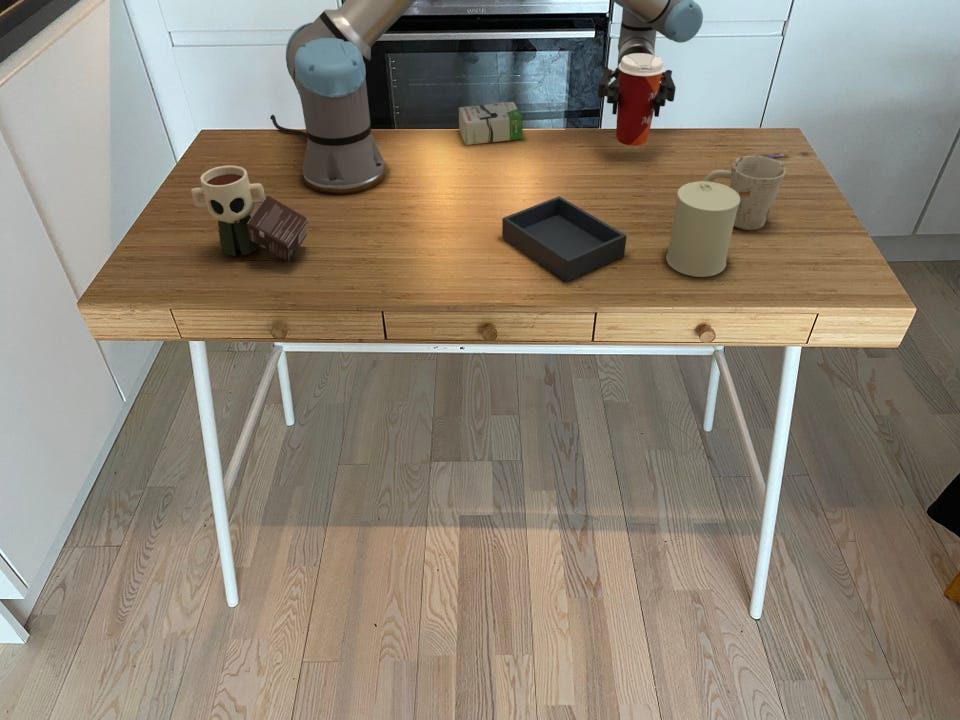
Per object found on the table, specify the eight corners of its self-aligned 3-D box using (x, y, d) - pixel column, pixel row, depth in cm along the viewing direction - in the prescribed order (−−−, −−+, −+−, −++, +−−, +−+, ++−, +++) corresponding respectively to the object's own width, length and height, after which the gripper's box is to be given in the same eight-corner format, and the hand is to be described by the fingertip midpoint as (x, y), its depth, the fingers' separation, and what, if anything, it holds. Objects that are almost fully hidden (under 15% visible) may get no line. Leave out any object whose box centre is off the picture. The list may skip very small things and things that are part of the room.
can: (719, 245, 125) (733, 178, 118) (731, 277, 118) (748, 207, 111) (662, 245, 126) (672, 177, 118) (671, 277, 119) (683, 207, 111)
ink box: (523, 116, 154) (464, 123, 152) (523, 140, 157) (465, 146, 155) (513, 100, 160) (457, 106, 159) (513, 123, 163) (458, 129, 162)
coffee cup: (656, 148, 145) (669, 68, 135) (612, 148, 145) (622, 67, 135) (649, 129, 151) (661, 51, 141) (607, 129, 151) (616, 51, 142)
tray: (502, 238, 128) (502, 218, 126) (558, 215, 133) (559, 195, 131) (566, 282, 118) (568, 261, 115) (624, 256, 123) (626, 235, 121)
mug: (769, 237, 127) (784, 182, 121) (692, 225, 130) (702, 170, 124) (773, 213, 133) (787, 159, 127) (699, 202, 136) (709, 149, 130)
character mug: (204, 263, 123) (183, 189, 115) (210, 239, 128) (190, 167, 120) (274, 257, 124) (258, 183, 116) (276, 234, 129) (261, 162, 121)
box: (289, 263, 124) (248, 240, 123) (308, 234, 126) (268, 211, 125) (288, 247, 118) (246, 223, 117) (309, 217, 120) (267, 194, 119)
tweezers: (802, 151, 151) (801, 155, 151) (746, 155, 149) (745, 159, 149) (807, 152, 149) (807, 156, 150) (751, 156, 147) (750, 160, 148)
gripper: (683, 84, 158) (688, 131, 140) (585, 80, 160) (579, 125, 143) (689, 47, 153) (695, 90, 135) (588, 43, 155) (582, 84, 138)
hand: (636, 108), depth 139 cm, fingers closed on coffee cup, 7 cm apart
